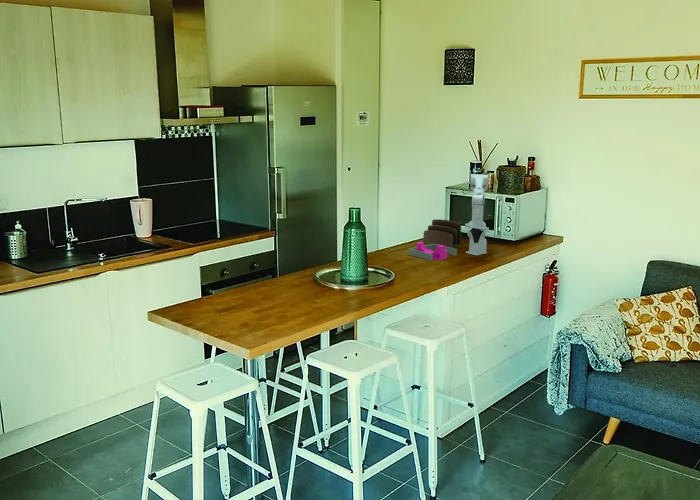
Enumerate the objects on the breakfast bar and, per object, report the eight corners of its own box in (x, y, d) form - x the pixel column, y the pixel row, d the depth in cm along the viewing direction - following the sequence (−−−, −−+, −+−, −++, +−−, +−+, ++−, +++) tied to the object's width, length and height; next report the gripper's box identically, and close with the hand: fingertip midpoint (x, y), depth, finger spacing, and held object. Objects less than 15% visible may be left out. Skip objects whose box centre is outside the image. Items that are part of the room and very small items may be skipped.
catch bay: (434, 249, 384) (434, 243, 383) (456, 255, 371) (457, 249, 371) (408, 254, 372) (408, 248, 371) (431, 260, 359) (431, 254, 358)
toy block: (446, 258, 365) (447, 244, 364) (441, 260, 360) (441, 247, 359) (422, 254, 374) (422, 241, 372) (416, 256, 369) (416, 243, 367)
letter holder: (431, 240, 408) (432, 217, 405) (460, 245, 396) (462, 221, 392) (422, 243, 400) (423, 220, 397) (452, 248, 388) (453, 224, 385)
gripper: (461, 216, 359) (460, 241, 362) (483, 220, 348) (481, 246, 352) (470, 214, 364) (469, 239, 367) (492, 218, 353) (490, 244, 356)
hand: (476, 242), depth 359 cm, fingers closed
